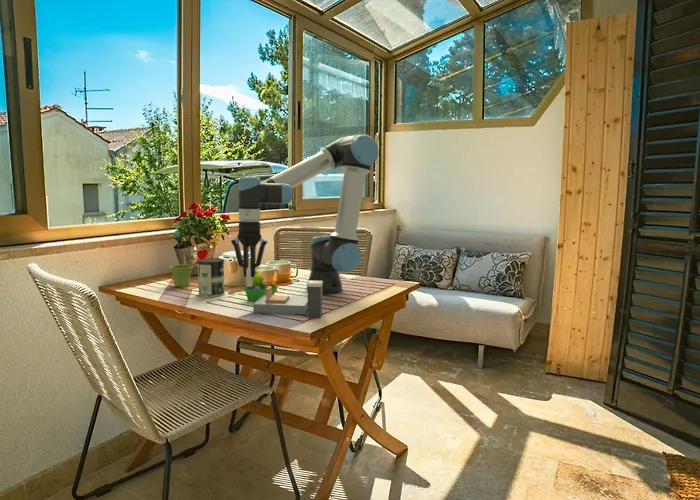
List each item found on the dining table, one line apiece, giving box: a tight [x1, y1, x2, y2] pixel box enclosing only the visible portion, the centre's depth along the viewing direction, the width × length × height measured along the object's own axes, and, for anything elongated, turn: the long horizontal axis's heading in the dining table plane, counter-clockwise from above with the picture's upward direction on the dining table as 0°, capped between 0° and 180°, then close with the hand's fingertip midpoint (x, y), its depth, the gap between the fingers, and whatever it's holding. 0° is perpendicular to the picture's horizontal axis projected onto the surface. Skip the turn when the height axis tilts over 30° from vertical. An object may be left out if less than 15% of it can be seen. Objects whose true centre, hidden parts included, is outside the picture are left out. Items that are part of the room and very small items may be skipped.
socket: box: [253, 295, 308, 315], centre depth 180 cm, size 14×18×3 cm
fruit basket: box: [243, 269, 277, 303], centre depth 194 cm, size 11×9×11 cm
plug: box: [306, 280, 323, 319], centre depth 170 cm, size 5×5×12 cm
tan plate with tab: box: [265, 286, 290, 302], centre depth 180 cm, size 7×7×4 cm
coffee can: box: [196, 257, 226, 298], centre depth 200 cm, size 10×10×14 cm
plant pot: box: [169, 264, 194, 288], centre depth 215 cm, size 9×9×9 cm
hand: (249, 285), depth 180 cm, fingers closed
